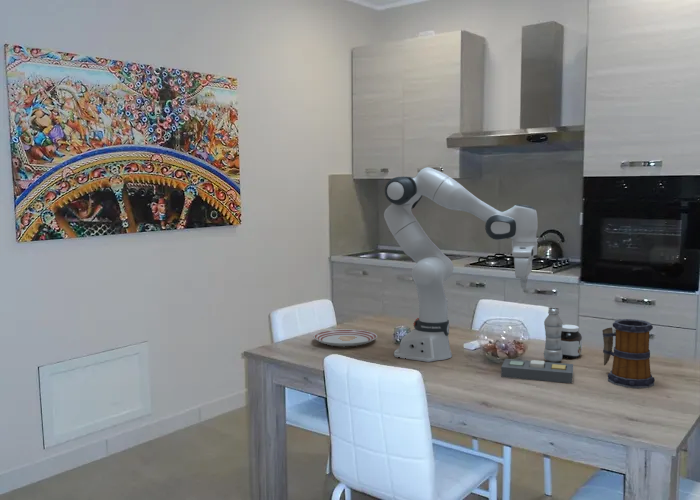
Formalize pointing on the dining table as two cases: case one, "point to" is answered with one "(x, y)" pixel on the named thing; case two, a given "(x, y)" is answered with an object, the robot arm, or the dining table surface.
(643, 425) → the dining table surface
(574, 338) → the spread jar
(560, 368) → the ochre key
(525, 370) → the keypad
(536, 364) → the cream key
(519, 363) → the sage-green key
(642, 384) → the mug
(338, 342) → the dinner plate
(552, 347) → the plastic bottle
